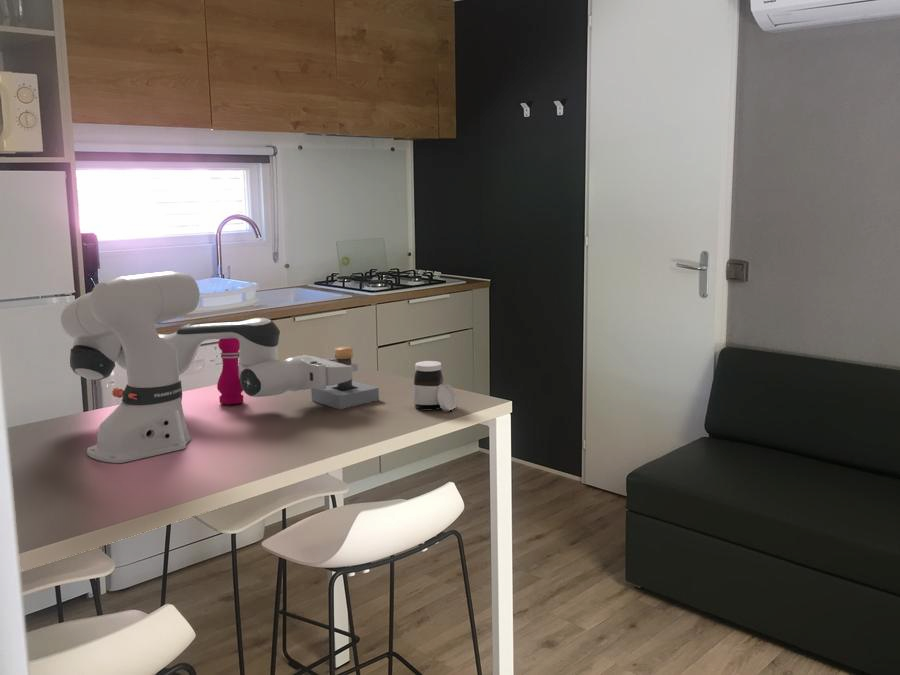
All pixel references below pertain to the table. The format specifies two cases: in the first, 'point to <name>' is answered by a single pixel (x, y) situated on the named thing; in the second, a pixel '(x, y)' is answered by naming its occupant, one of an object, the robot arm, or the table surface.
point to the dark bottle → (344, 357)
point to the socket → (346, 395)
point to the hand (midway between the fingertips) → (346, 364)
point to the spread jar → (432, 387)
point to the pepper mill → (229, 372)
